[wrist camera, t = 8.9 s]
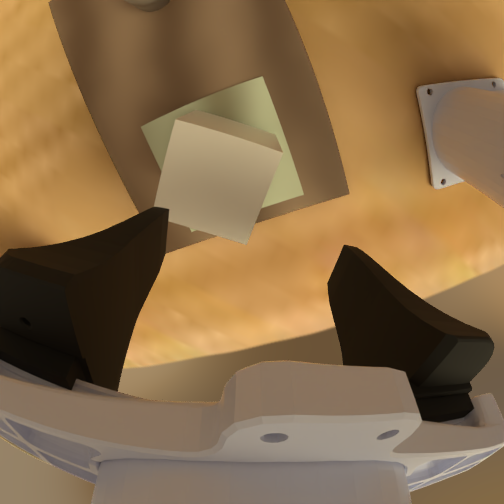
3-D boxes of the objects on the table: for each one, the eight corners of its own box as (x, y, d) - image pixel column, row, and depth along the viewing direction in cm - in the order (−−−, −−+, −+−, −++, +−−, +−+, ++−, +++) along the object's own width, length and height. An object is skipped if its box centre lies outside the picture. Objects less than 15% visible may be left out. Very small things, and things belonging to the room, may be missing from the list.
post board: (235, -83, 9) (231, -117, 5) (344, 187, 20) (367, 216, 16) (57, 4, 12) (18, -3, 8) (166, 246, 23) (149, 284, 19)
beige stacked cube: (275, 134, 17) (283, 152, 13) (248, 205, 20) (246, 244, 15) (196, 109, 16) (175, 119, 12) (174, 183, 19) (151, 216, 14)
